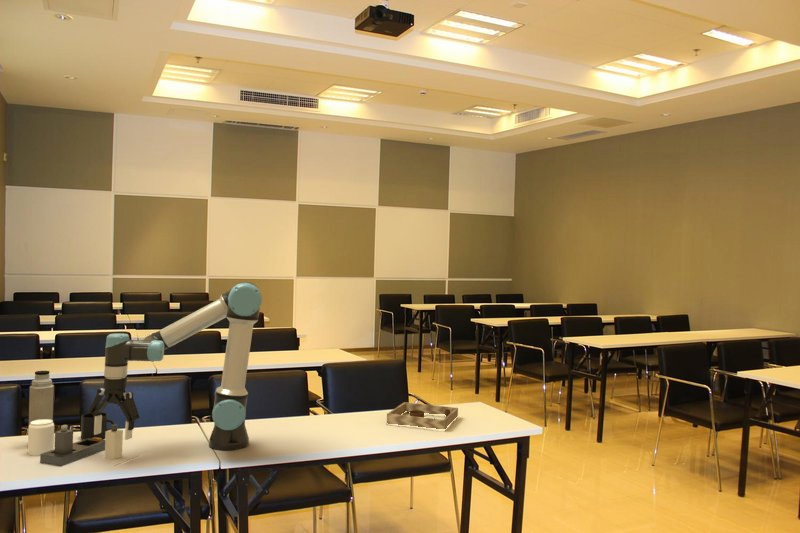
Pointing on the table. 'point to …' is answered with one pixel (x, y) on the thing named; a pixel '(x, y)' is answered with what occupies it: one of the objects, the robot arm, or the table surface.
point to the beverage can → (40, 436)
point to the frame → (399, 419)
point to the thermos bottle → (41, 397)
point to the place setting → (421, 413)
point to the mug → (88, 426)
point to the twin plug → (63, 441)
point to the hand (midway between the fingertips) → (112, 436)
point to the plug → (113, 442)
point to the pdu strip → (74, 452)
